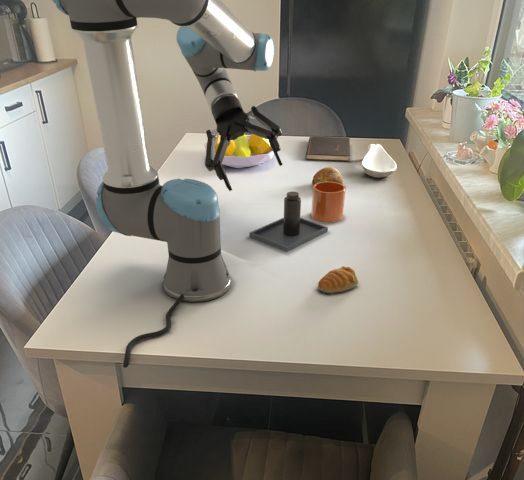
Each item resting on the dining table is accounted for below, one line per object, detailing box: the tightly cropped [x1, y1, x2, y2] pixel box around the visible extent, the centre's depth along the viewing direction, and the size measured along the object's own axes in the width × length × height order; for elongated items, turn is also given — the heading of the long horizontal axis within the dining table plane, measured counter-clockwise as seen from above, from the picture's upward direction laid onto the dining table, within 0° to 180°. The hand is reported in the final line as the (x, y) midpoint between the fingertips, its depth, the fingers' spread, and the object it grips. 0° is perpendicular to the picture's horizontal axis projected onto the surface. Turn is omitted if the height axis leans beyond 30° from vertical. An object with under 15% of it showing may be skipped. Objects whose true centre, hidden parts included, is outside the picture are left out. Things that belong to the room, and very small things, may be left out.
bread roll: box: [311, 166, 344, 186], centre depth 176 cm, size 10×10×8 cm
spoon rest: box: [361, 143, 398, 179], centre depth 189 cm, size 24×12×7 cm, turn 0°
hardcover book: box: [305, 135, 351, 163], centre depth 207 cm, size 16×23×2 cm
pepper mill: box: [283, 191, 302, 236], centre depth 144 cm, size 4×4×11 cm
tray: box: [249, 217, 329, 253], centre depth 147 cm, size 17×13×2 cm
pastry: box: [317, 265, 359, 294], centre depth 124 cm, size 9×7×4 cm
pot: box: [311, 182, 346, 223], centre depth 155 cm, size 9×9×9 cm
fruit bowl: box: [203, 132, 275, 169], centre depth 195 cm, size 28×27×11 cm
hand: (254, 175), depth 131 cm, fingers open, 13 cm apart
